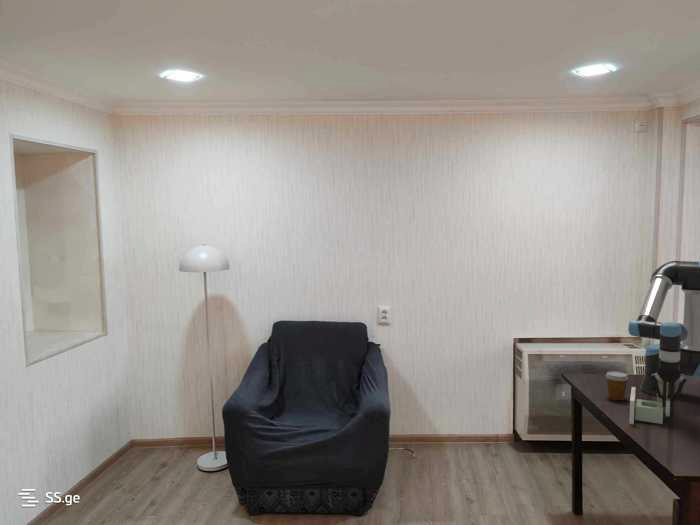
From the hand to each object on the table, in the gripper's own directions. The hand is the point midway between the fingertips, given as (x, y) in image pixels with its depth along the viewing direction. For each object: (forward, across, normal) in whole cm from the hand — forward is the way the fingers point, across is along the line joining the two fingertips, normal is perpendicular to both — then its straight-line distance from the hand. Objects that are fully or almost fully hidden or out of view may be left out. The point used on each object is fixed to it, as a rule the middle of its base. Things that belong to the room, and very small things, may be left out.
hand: (667, 414), depth 220 cm
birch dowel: (+3, +2, -13) cm, 13 cm away
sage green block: (+3, +7, 0) cm, 7 cm away
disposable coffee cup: (+3, +20, -21) cm, 29 cm away
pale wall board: (+3, +13, 0) cm, 13 cm away
